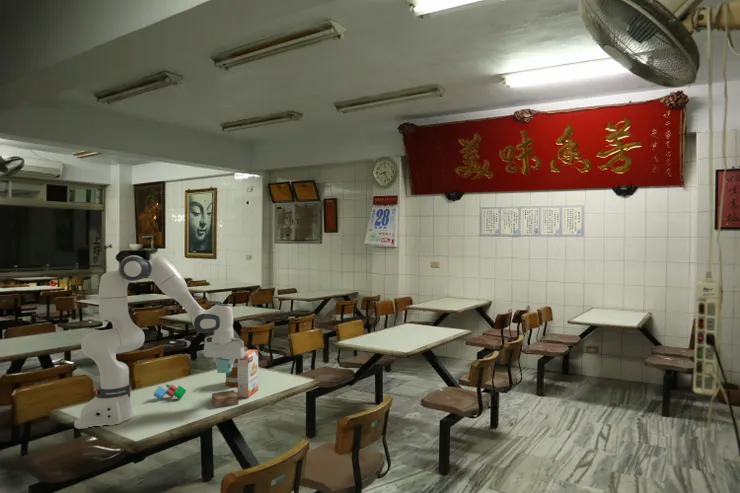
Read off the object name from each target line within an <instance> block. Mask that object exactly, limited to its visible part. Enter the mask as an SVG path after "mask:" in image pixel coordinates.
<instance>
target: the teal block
mask: <svg viewBox="0 0 740 493" xmlns="http://www.w3.org/2000/svg"><path fill="white" fill-rule="evenodd" d="M230 363H231V361H230V358H219V359H218V360H217V367H216V371H217V374H226V373H228V372H230V371H232V368H229V367H228V364H230Z"/></svg>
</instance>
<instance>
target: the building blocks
mask: <svg viewBox="0 0 740 493" xmlns="http://www.w3.org/2000/svg"><path fill="white" fill-rule="evenodd" d="M165 387H166V388H168V389H165V388H163V386H160V385H159V386H158V387H157V389H156V390H155V391H154V393H153V396H154V397H155V398H156V399H158V400H162V399H163V398H164V397H165V395H167V396H168V397H170V398H172V399H173V398H174V397H176V398H177V399H179V400H181V399H182V398H183V396H184V395H185V394H186V392H187V389H185V388H184V387H182V385H178V386H175V385H174V384H169V383H167V384H165Z"/></svg>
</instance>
